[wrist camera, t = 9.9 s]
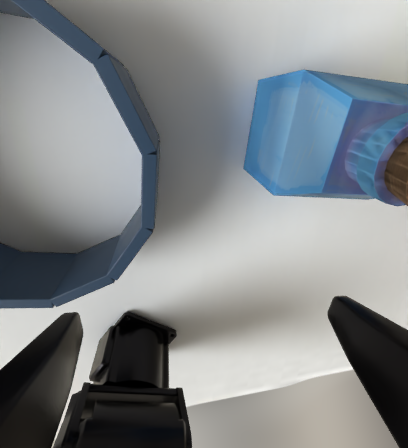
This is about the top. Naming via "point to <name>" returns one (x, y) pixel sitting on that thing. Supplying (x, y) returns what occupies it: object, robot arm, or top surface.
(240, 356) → the top surface
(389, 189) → the perfume bottle
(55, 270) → the blue round bin
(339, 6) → the top surface
